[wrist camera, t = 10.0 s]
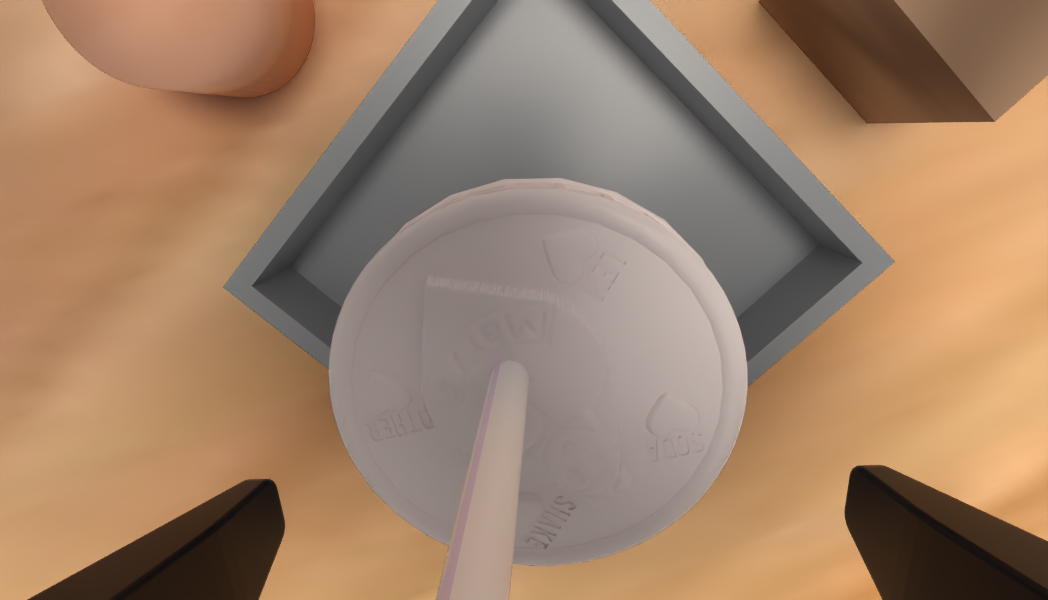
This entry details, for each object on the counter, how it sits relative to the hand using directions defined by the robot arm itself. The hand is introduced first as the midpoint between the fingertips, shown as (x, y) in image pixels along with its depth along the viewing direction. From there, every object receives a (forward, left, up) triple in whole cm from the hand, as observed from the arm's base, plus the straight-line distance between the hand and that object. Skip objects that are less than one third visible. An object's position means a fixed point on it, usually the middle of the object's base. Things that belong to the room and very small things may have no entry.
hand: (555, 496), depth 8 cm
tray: (-1, +1, -11) cm, 11 cm away
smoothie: (-1, +1, -10) cm, 10 cm away
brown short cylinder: (-13, 0, -11) cm, 17 cm away
